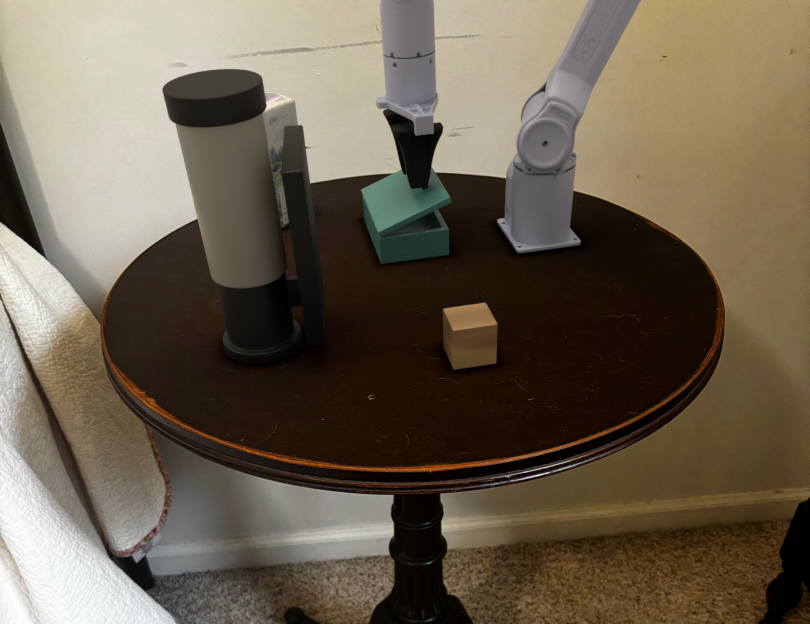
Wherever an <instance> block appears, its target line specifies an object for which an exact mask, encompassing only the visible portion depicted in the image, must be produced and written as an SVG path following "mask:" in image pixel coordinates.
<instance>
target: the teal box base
mask: <svg viewBox="0 0 810 624" xmlns="http://www.w3.org/2000/svg"><path fill="white" fill-rule="evenodd" d="M361 199H362V210H363V211H362V212H363V221H364V223H365V225H366V228H367V231H368V233H369V236H370V238H371V241H372V243H373V247H374V249H375V252H376V254H377V256H378V259H379V262H380V264H381V265H384V264H385V265H386V264H392V263H399V262H405V261H407V262H408V261H413V260H420V259H422V260H423V259H427V258H428V259H429V258H435V257H442V256H449V255H450V229H449V227H448V225H447V223H446V221H445V219H444V218H443V216H442V214H441V212H440V211H439V209H437V210H435V211H433V212H431V213H429V214H427V215H425V216H423V217H421V218H419V219H417V220H415V221H413V222H411V223H408V224H406V225H404V226H402V227H400V228H398V229H396V230H394V231H392V232H390V233H388V234H386V235H384V236H382V237H380V236H379V234H378V231H377V229H376V226H375V224H374V221H373V219H372V216H371V214H370V211H369V209H368V206H367V204H366V201H365V199H364V197H363V194H362V195H361Z"/></svg>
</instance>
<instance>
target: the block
mask: <svg viewBox="0 0 810 624" xmlns="http://www.w3.org/2000/svg"><path fill="white" fill-rule="evenodd" d="M498 324H499V323H498V322H497V321H496V319H495V317H494V315H493V313H492V311H491V310H490V307H489V306H488V304H487V303H486V302H479V303H474V304H466V305H460V306H452V307H446V308H445V307H444V308H443V309H442V327H443V328H442V330H443V331H442V333H443V337H442V338H443V349H444V351H445V354H446V356H447V359H448V360H449V363H450V365H451V368H452V369H453V371H457V370H462V369H469V368H475V367H482V366H489V365H496V364H497V357H498V356H497V355H498V354H497V353H498V328H499V327H498V326H499V325H498Z"/></svg>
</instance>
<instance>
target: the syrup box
mask: <svg viewBox="0 0 810 624" xmlns="http://www.w3.org/2000/svg"><path fill="white" fill-rule="evenodd" d="M265 98H266V104H267V107H266V109H265V111H264V112H263V116H264V122H265V128H266V135H267V141H268V147H269V153H270V159H271V166H272V172H273V178H274V184H275V191H276V197H277V203H278V209H279V216H280V222H281V228H282V229H284V228H285V227H287V226H289V220H288V214H287V207H286V201H285V194H284V188H283V181H282V175H281V173H282V155H283V137H284V127H285V126H295V125H299V122H298V115H297V107H296V100H295V99H294V98H291V97H289V96H287V95H283V94H280V93H276V92H270V91H269V92H268V91H265Z"/></svg>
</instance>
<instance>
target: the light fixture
mask: <svg viewBox="0 0 810 624" xmlns="http://www.w3.org/2000/svg"><path fill="white" fill-rule="evenodd" d="M265 92H266V91H265V85H264V78H263V76H262V75H261V74H260V73H258V72H256V71H253V70H247V69H242V68H220V69H219V68H218V69H209V70H202V71H196V72H192V73H187V74H184V75H180V76H178V77H176V78H173V79H171V80H169V81H168V82H166V83H164V85H163V87H162V95H163V99H164V104H165V107H166V112H167V115H168V120H169V121H170V122H172V123H174V124H175V129H176V132H177V136H178V141H179V145H180V150H181V155H182V158H183V162H184V167H185V171H186V175H187V179H188V184H189V189H190V192H191V197H192V201H193V205H194V211H195V214H196V218H197V222H198V227H199V231H200V234H201V240H202V244H203V248H204V253H205V257H206V261H207V265H208V270H209V274H210V277H211V279H212V280H213V282H215V286H216V290H217V294H218V299H219V303H220V307H221V312H222V316H223V320H224V325H225V329H226V330H225V331H224V332H223V334H222V344H223V348H224V352H225V353H226V355H227V356H228V357H229V358H230V359H232V360H233V361H235V362H238V363H242V364H245V365H246V364H247V365H266V364H272V363H276V362H279V361H281V360H284V359H286V358H288V357H290V356H292V355H293V354H295V353H296V352H297V351H298V350H299V349H300V348H301V345H302V343H303V334H302V333H303V332H302V327H301V325H300V323H299V322H298V321H297V320H295V319H294V317H293V310H292V308H297V307H298V308H299V307H301V310H302V311H301V312H302V317H303V324H304V331H305V337H306V343H307V346H317V345H325V344H326V342H327V340H326V315H325V313H326V312H325V287H324V286H325V285H324V279H323V271H322V262H321V257H320V248H319V241H318V240H319V239H318V233H317V225H316V217H315V210H314V209H315V208H314V202H313V193H312V186H311V178H310V177H311V176H310V169H309V164H308V163H309V162H308V155H307V147H306V140H305V132H304V127H303V125H302V124H298V125H295V126H285V127H284V137H283V155H282V173H281V175H282V181H283V188H284V194H285V201H286V207H287V214H288V220H289V225H288V227H289V233H290V240H291V246H292V252H293V259H294V265H295V271H296V275H291V276H287V273H286V271H287V269H288V260H287V254H286V248H285V241H284V240H285V239H284V235H283V228H281V222H280V216H279V209H278V203H277V197H276V191H275V184H274V178H273V172H272V166H271V159H270V153H269V147H268V141H267V135H266V128H265V122H264V116H263V112H264V111H265V109H266V107H267V104H266V98H265Z"/></svg>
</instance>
